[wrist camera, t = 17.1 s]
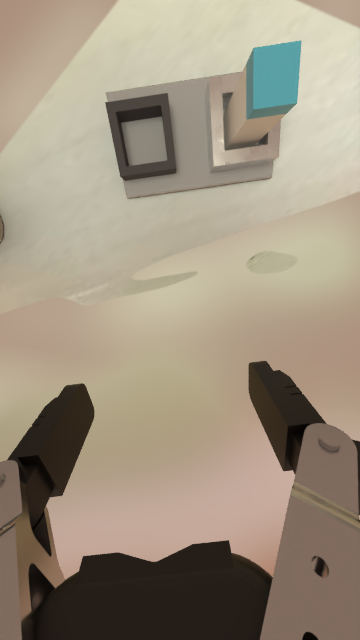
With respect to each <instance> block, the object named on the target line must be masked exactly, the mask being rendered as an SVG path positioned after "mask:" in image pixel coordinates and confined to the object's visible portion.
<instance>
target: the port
mask: <svg viewBox="0 0 360 640" xmlns="http://www.w3.org/2000/svg"><path fill="white" fill-rule="evenodd" d="M241 75H242V73H239V74H233V75H227V76H220V77H214V78H209V80H208V84H207V88H206V92H205V108H206V124H207V140H208V156H209V173H210V172H217V171H224V170H231V169H237V168H244V167H251V166H258V165H265V164H269V163H270V162H272V161H273V160H275V159H276V158H278V157H279V142H280V121H279V122H278V123H277V124H276V125H275V126H274V127H272V128H271V129H270V130H269V131H268V132H267V133H266V134H265V135H264V136H263V137H262V138H261V139H260V140H259V141H258V146H254V147H247V148H241V149H234V150H227V151H224V125H223V107H227V106H228V103H229V101H230V99H231V97H232V95H233V92H234V90H235V88H236V86H237V84H238V81H239V79H240V77H241Z"/></svg>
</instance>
